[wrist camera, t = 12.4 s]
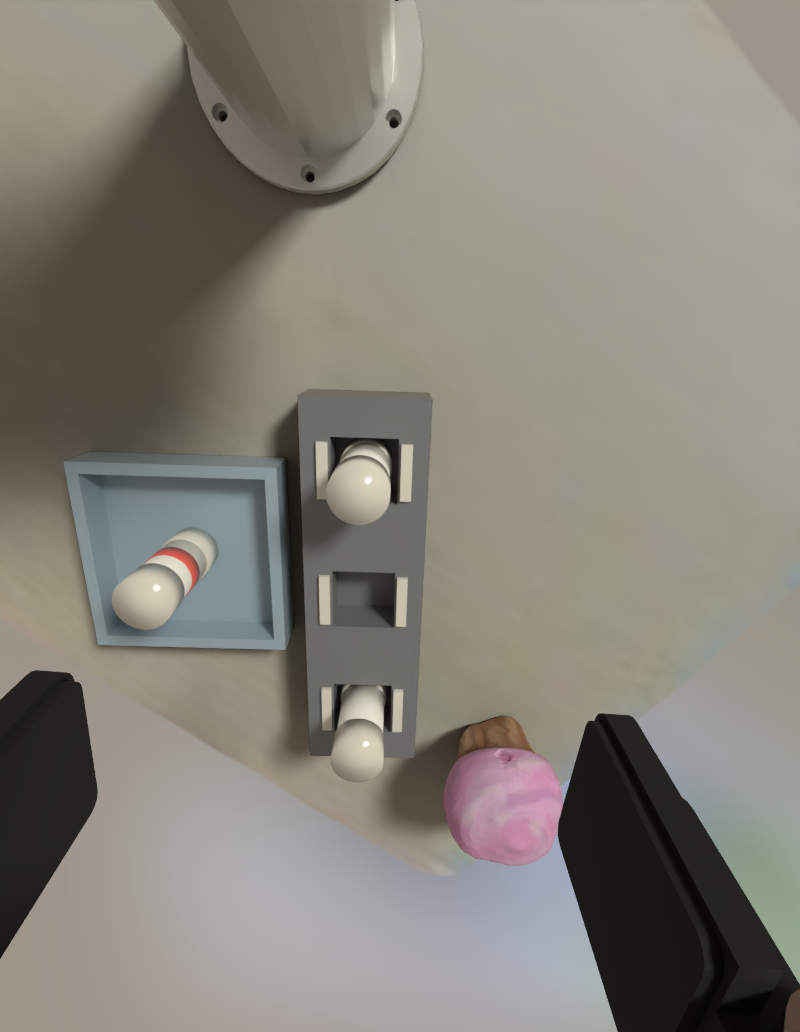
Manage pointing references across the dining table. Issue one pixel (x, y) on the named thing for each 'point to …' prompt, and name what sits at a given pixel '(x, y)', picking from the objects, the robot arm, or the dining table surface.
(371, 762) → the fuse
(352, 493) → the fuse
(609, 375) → the dining table surface
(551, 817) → the cupcake
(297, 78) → the robot arm
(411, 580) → the fuse holder
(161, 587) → the cylinder
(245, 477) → the tray
